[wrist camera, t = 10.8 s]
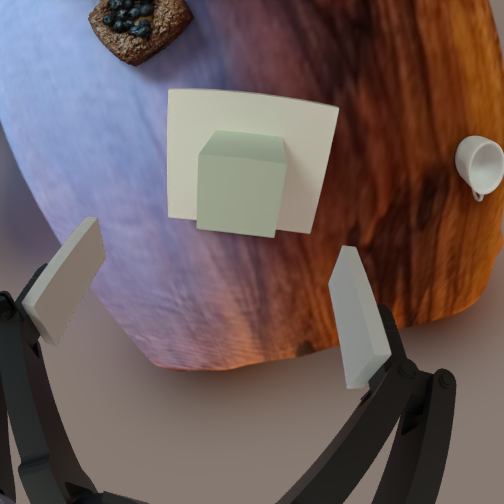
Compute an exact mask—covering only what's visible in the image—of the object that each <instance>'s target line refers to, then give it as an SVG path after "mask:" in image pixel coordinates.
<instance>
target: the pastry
mask: <svg viewBox="0 0 504 504" xmlns="http://www.w3.org/2000/svg"><path fill="white" fill-rule="evenodd" d="M193 18H194V17H193V15H192V13H191V11H190V9H189V7H188V5H187V4H186V2H185V1H184V0H101V1H100V2H99V4H98V5H97V6H96V7H95V8H94V11H93V12H91V13H90V14H89V18H88V20H89V22H90V24H91V26H92V29H93V31H94V32H95V34H96V36H97V37H98V38H99V40H100V41H101V42H102V43H103V45H105V46H106V47H107V49H108V50H109V51H111V52H112V53H113V54H114V55H115V56H116V57H118V58H119V59H120V61H124V62H126V63H127V64H131V65H133V66H138V65H139V64H141V63H143V62H145V61H147V60H148V59H149V58H151V57H153V56H154V55H155V54H157V53H159V52H160V51H161V50H163V49H165V48H166V46H167V45H169V44H170V43H171V42H172V41H173V40H174V39H176V38H177V37H178V36H179V35H180V34H181V33H182V32H183V31H184V29H185V28H186V27H187V25H188V24H190V22H191V21H192V20H193Z"/></svg>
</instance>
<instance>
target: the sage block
mask: <svg viewBox="0 0 504 504" xmlns="http://www.w3.org/2000/svg"><path fill="white" fill-rule="evenodd" d="M286 169H287V160H286V155H285V150H284V145H283V140H282V137H278V136H271V135H263V134H254V133H246V132H236V131H225V130H216V131H215V132H214V134H213V135H212V136H211V138H210V139H209V140H208V142H207V143H206V145H205V146H204V147H203V149H202V150H201V152H200V153H199V154H198V179H197V229H202V230H211V231H220V232H229V233H238V234H246V235H255V236H263V237H271V238H274V236H275V230H276V225H277V220H278V214H279V209H280V203H281V197H282V192H283V186H284V181H285V175H286Z"/></svg>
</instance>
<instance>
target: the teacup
mask: <svg viewBox="0 0 504 504" xmlns="http://www.w3.org/2000/svg"><path fill="white" fill-rule="evenodd" d="M455 163H456V168H457V171H458V173H459V174H460V176H461V177H462V178H463V179H464V180H465V181H466V182H467V183H468V184H469V186H470V187H471V188H472V192H473V196H474V198H475V200H477V201H482V200H483V196H484V194H488V193H490V192H492V191H493V190H495V189H496V188H497V186H498V185H499V184H500V182H501V180H502V177H503V174H504V153H503V151H502V149H501V147H500V146H499V145H498V144H497V143H495V142H493V141H491V140H489V139H487V138H484V137H481V136H469V137H467V138H465V139H464V140H463V141H462V142H461V143H460V144H459V146H458V148H457V150H456V155H455ZM476 192H477V193H479V195H480V198H478V197H477V195H476Z"/></svg>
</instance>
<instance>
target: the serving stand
mask: <svg viewBox="0 0 504 504" xmlns="http://www.w3.org/2000/svg"><path fill="white" fill-rule="evenodd" d="M338 112H339V108H338V107H336V106H332V105H328V104H323V103H318V102H313V101H308V100H302V99H296V98H290V97H284V96H277V95H270V94H262V93H253V92H244V91H232V90H219V89H199V88H171V89H169V94H168V119H167V193H168V217H172V218H182V219H191V220H197V179H198V154H199V153H200V152H201V150H202V149H203V147H204V146H205V145H206V143H207V142H208V140H209V139H210V138H211V136H212V135H213V134H214V132H215V131H216V130H225V131H236V132H246V133H254V134H263V135H271V136H278V137H282V140H283V145H284V150H285V155H286V160H287V169H286V175H285V181H284V186H283V192H282V197H281V203H280V209H279V214H278V220H277V225H276V229H277V230H285V231H293V232H300V233H308V234H310V232H311V228H312V225H313V221H314V217H315V213H316V209H317V205H318V201H319V197H320V193H321V189H322V184H323V180H324V176H325V172H326V167H327V163H328V159H329V154H330V150H331V145H332V140H333V136H334V131H335V126H336V121H337V117H338Z"/></svg>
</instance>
